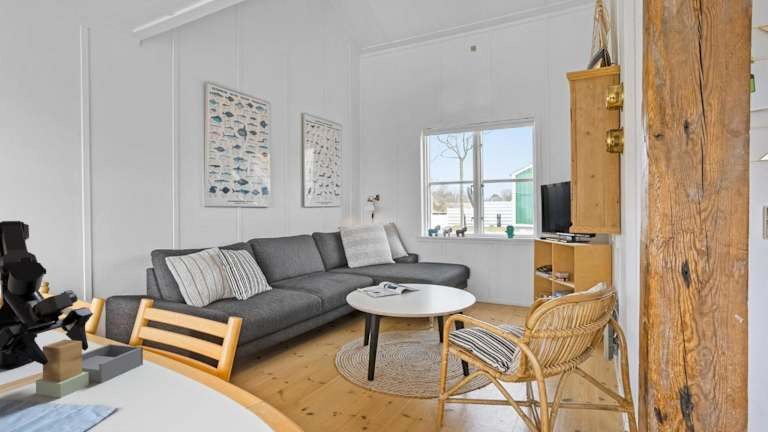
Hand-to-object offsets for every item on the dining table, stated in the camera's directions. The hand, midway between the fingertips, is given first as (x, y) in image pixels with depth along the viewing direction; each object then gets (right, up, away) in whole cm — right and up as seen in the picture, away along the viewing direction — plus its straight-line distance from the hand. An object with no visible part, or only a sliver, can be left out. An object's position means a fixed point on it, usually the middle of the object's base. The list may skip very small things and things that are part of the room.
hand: (67, 355), depth 92 cm
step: (-1, -8, +1) cm, 8 cm away
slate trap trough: (+1, -8, +11) cm, 14 cm away
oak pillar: (-1, -5, 0) cm, 5 cm away
